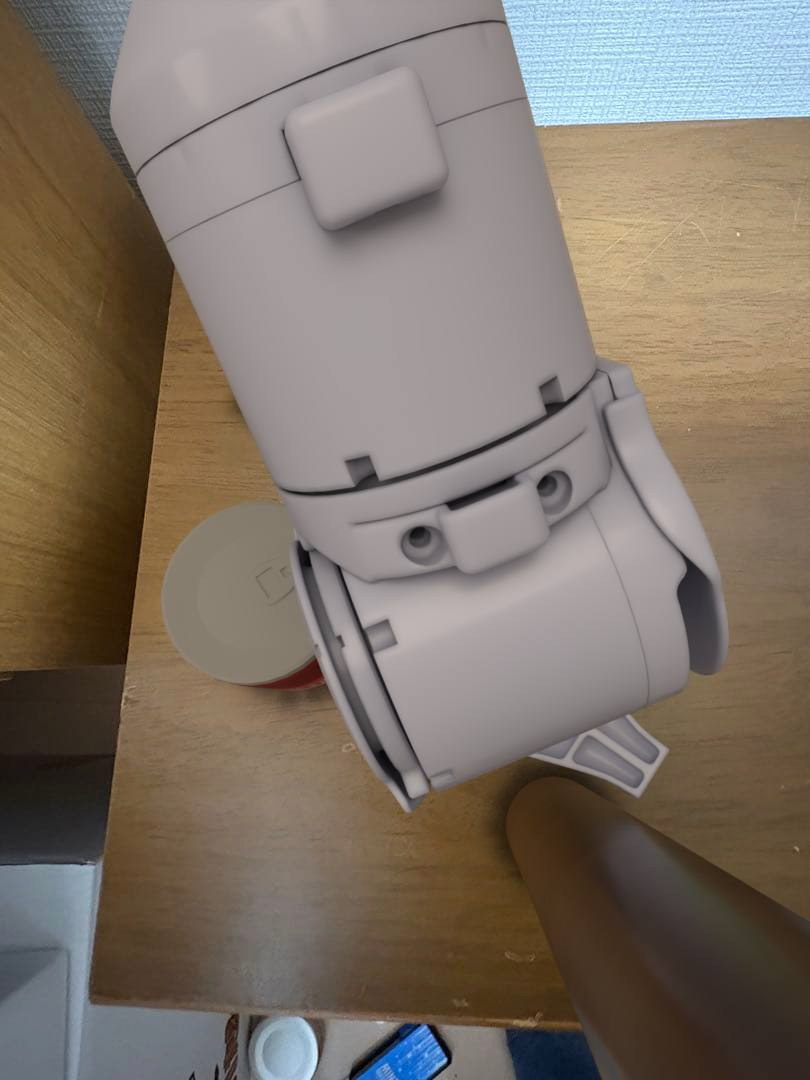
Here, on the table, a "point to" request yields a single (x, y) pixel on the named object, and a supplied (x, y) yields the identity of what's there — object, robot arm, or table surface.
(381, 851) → the table surface
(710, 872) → the pepper mill
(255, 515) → the canned food
